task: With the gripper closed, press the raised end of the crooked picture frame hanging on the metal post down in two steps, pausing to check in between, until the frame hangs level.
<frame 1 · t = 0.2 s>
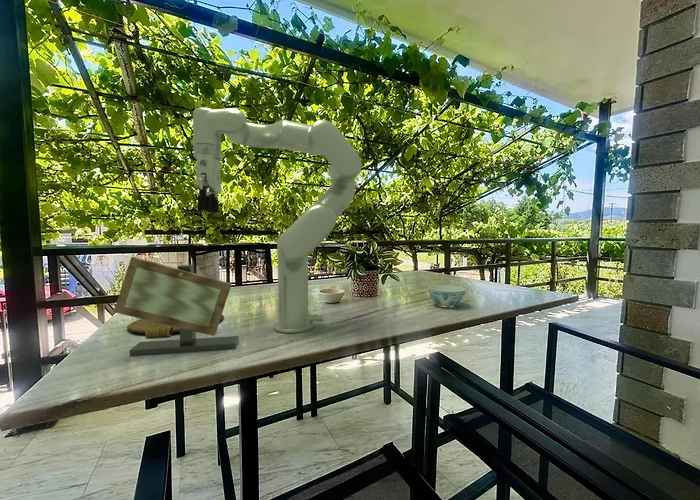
hand: (208, 211, 94), 37 cm above the table, tool pointing down, fingers open, 9 cm apart
picture frame: (175, 297, 80), point 14 cm above the table, hinge at 18.0°
chinaware: (446, 306, 131), on the table
decorative disc: (178, 325, 106), on the table
frame post: (187, 348, 84), on the table
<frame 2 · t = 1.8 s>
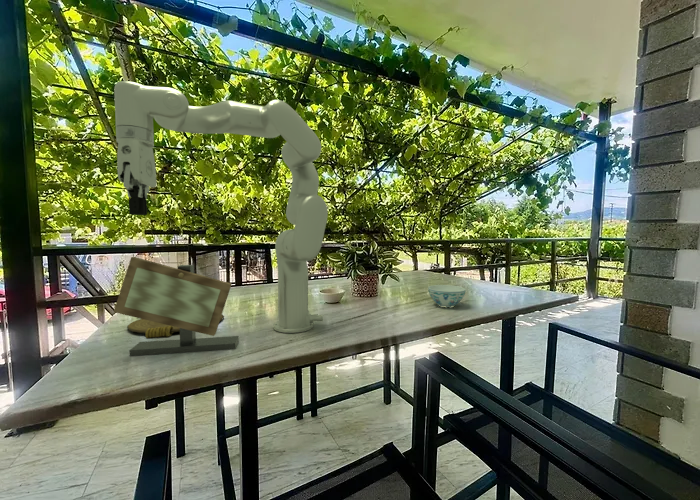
hand: (138, 214, 77), 35 cm above the table, tool pointing down, fingers closed
nothing on the table moved.
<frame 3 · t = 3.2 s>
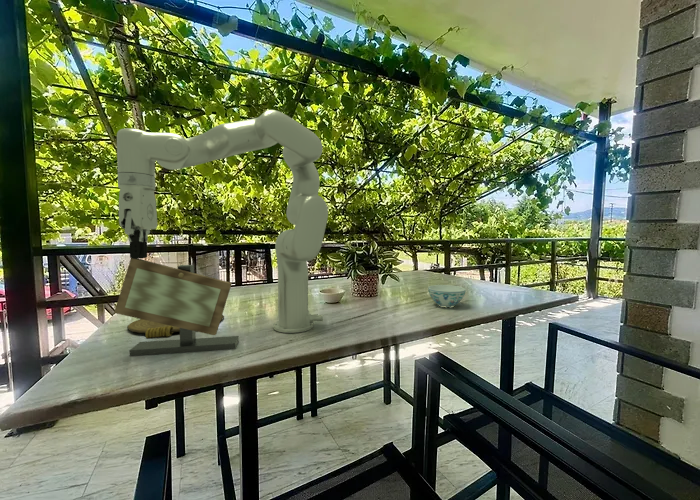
hand: (138, 257, 78), 24 cm above the table, tool pointing down, fingers closed
picture frame: (175, 297, 80), point 14 cm above the table, hinge at 17.1°, touching gripper
everything else where it was.
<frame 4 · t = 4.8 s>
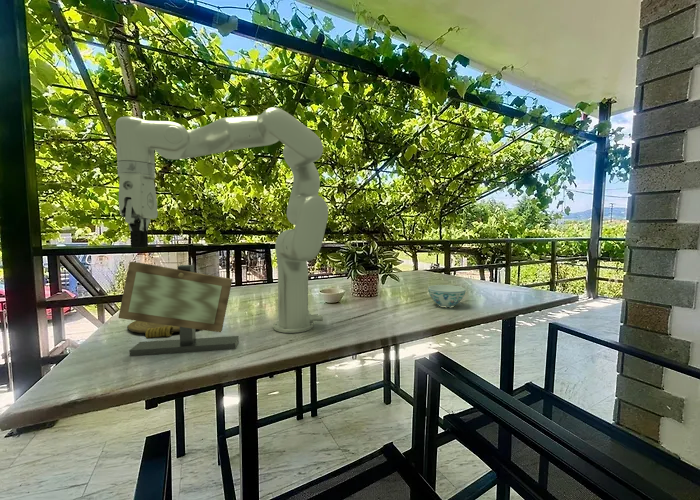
hand: (139, 247, 78), 27 cm above the table, tool pointing down, fingers closed
picture frame: (177, 297, 80), point 14 cm above the table, hinge at 12.1°
everything else where it was.
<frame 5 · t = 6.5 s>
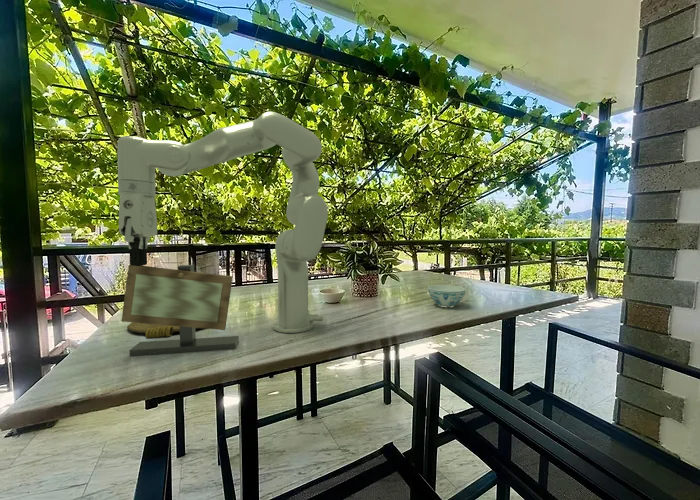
hand: (138, 264, 78), 23 cm above the table, tool pointing down, fingers closed
picture frame: (179, 298, 80), point 14 cm above the table, hinge at 8.6°, touching gripper
everything else where it was.
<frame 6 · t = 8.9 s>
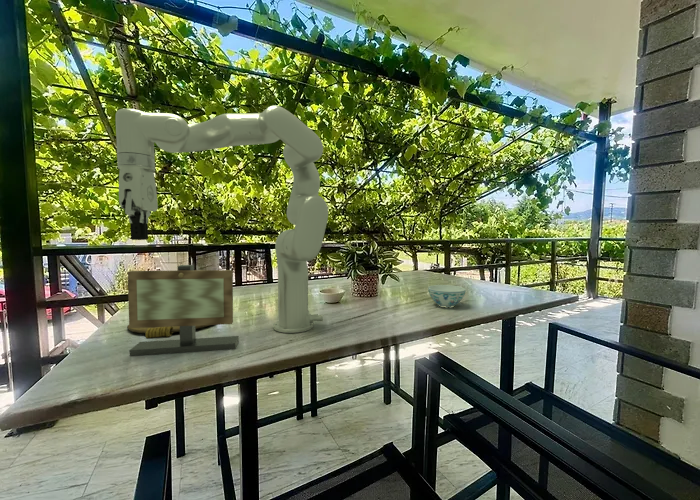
hand: (139, 239, 78), 29 cm above the table, tool pointing down, fingers closed
picture frame: (182, 298, 80), point 14 cm above the table, hinge at 0.7°
everything else where it was.
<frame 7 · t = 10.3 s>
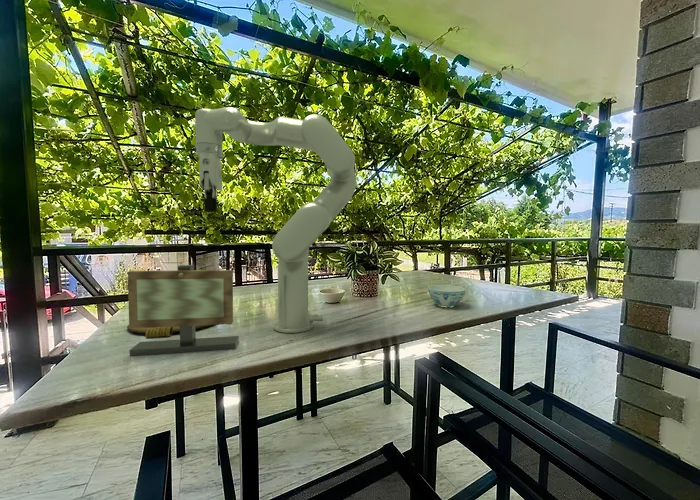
hand: (211, 211, 99), 37 cm above the table, tool pointing down, fingers closed
nothing on the table moved.
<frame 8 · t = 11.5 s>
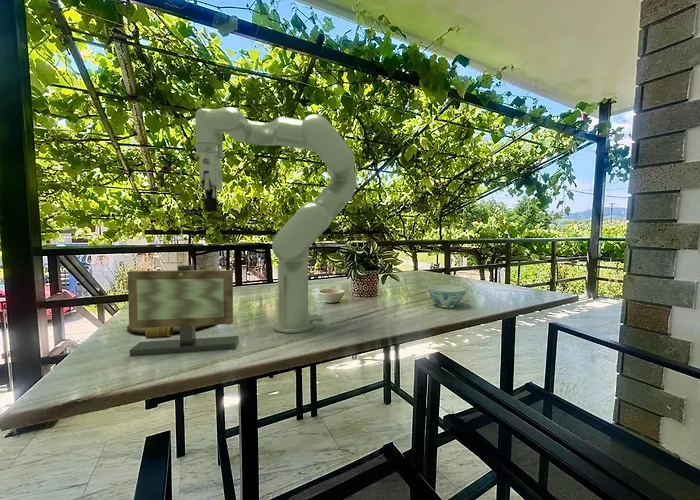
hand: (211, 211, 99), 37 cm above the table, tool pointing down, fingers closed
nothing on the table moved.
at the end: picture frame at +1° (first picture: +18°); picture frame touching nothing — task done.
